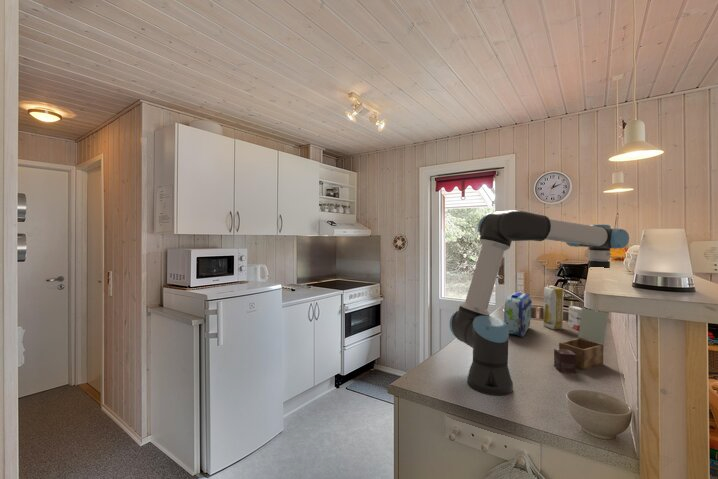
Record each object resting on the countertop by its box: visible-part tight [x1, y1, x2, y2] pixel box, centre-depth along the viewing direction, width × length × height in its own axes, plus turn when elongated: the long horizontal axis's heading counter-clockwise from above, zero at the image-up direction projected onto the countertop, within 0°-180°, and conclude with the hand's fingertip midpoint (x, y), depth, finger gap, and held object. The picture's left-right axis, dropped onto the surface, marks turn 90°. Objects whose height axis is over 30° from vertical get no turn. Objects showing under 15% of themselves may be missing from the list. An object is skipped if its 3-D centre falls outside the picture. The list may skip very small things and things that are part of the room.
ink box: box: [567, 305, 582, 331], centre depth 190 cm, size 9×5×12 cm, turn 179°
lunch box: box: [503, 292, 532, 338], centre depth 183 cm, size 26×11×21 cm, turn 144°
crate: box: [558, 337, 605, 371], centre depth 140 cm, size 14×10×8 cm
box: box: [553, 348, 577, 374], centre depth 133 cm, size 6×6×7 cm
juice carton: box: [543, 285, 565, 330], centre depth 191 cm, size 9×8×24 cm
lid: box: [578, 306, 609, 345], centre depth 144 cm, size 14×10×1 cm
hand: (597, 314), depth 145 cm, fingers closed
